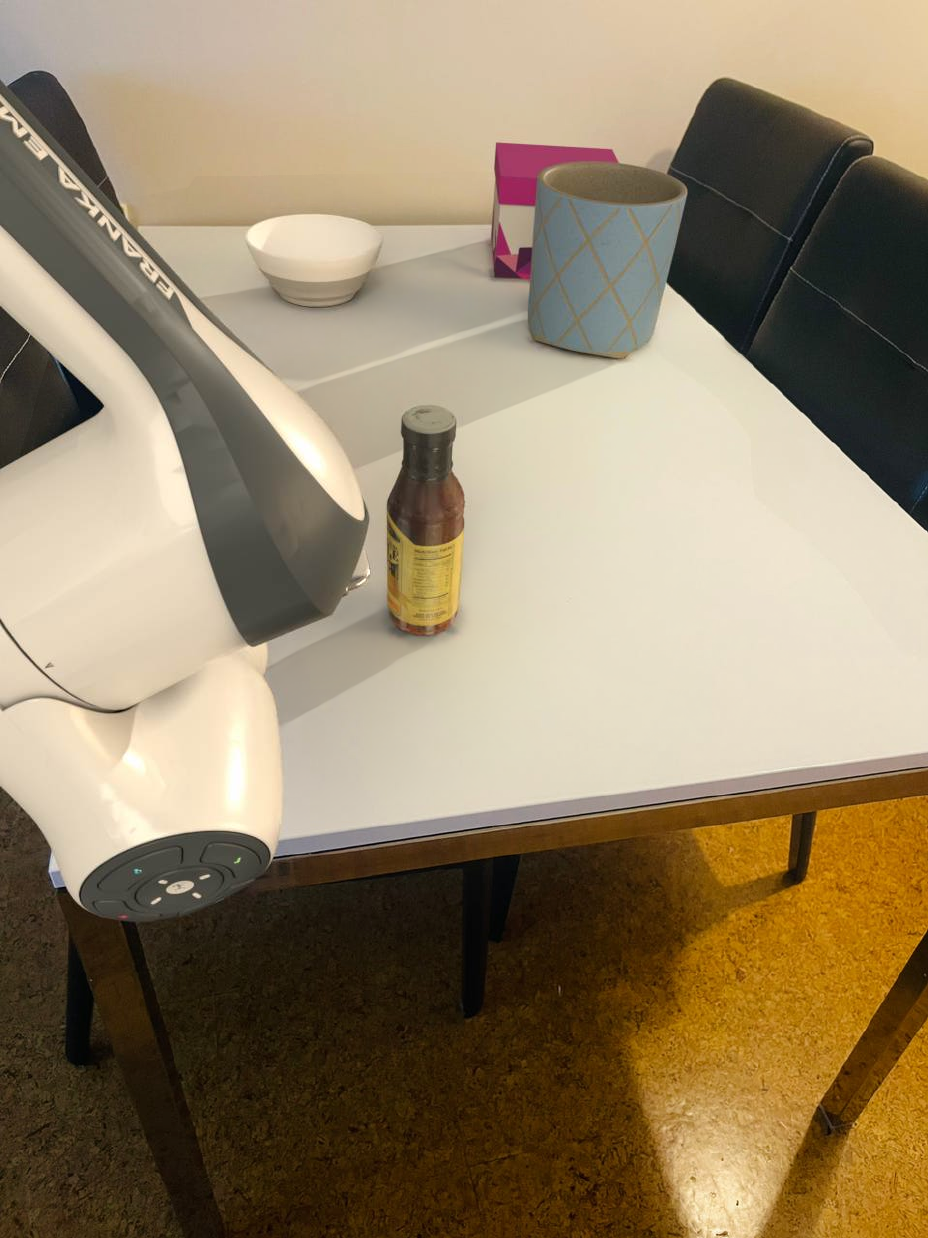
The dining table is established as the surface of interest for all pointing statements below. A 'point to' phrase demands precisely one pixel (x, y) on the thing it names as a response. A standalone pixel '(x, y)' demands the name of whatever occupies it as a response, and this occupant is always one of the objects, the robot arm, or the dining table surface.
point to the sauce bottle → (425, 525)
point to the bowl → (314, 256)
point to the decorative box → (524, 199)
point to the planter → (601, 254)
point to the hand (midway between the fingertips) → (168, 469)
